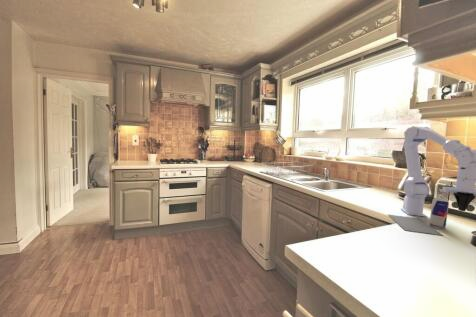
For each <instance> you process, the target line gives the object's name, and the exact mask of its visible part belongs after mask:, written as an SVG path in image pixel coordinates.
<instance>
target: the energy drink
mask: <svg viewBox="0 0 476 317" xmlns="http://www.w3.org/2000/svg"><path fill="white" fill-rule="evenodd" d="M431 201H432V202H431V208H430V209H431V210H430V217H429V222H428V223H429V224H428V225H430V226H431V227H432V228H434V229H439V230H445V229H446V225H447V222H448V221H447V220H448V213H449V206H450V203H449V202H450V201H449V200H448V199H442V198H436V197H435V198H433V199H432V200H431Z"/></svg>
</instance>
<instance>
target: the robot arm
mask: <svg viewBox="0 0 476 317" xmlns="http://www.w3.org/2000/svg"><path fill="white" fill-rule="evenodd" d="M403 134H404V141H403V149H404V155H405V156H404V157H405V164H406V168H407V177H408V178H406V179H405V180H404V186H403V192H404V194H405V196H404V198H403V205H402V207H401V208H400V210H401V211H402V212H404V213H405V214H406V215H408V216H409V215H410V216H419V217H426V218H427V215H426V214H425V213H424V207H425V200H426V199H425V198H427V196H428V195H429V194H430V191H431V188H430V186H429V185H428V183H427V180H426V179H425V178H424V177H423V174H422V167H421V162H420V155H419V148H418V147H419V145H421V144H423V143H424V142H425V141H426V140H428V139H429V140H430V141H431V142H434V143H436V144H438V145H440V146H441V147H442V150H443V151H444V152H446V153H448V154H449V155H451V156H452V157H455V160H456V161H457V162H458V164H457V165H458V168H457V175H456V182H455V186H454V187H453V186H442V189H441V191H442V192H444V193H453V196H454V198H455V200H456V201H455V202H457V209H458V210H459V211H460V212H466V210H467V208H468V206H469V205H470V204H471V203H472V202H473V200H475V199H476V149H472V147H471V146H470V145H465V144H463V143H461V140H459V139H448V138H446V137H445V136H443V135H442V134H440V133H439V132H437V131H435V130H434V129H433V128H430V127H428V126H414V125H410V126H408V127H407V128H406V130H405V131H404V132H403Z"/></svg>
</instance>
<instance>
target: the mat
mask: <svg viewBox="0 0 476 317" xmlns="http://www.w3.org/2000/svg"><path fill="white" fill-rule="evenodd" d="M388 217H390V219H392V220H393V221H394V222H395V223H396V224H397V225H398V226H399V227H400V228H401V229H402V230H403V231H406V232H413V233H420V234H426V235H427V234H429V235H434V236H440V237H441V236H442V237H444V235H443V233H441V232H440V231H438V230H437V229H436V228H434V227H431V226H430V225H429V224H428V223H427V222H426V221H424V220H423V219H421V218H419V217H412V216H411V217H410V216H404V215H403V216H402V215H393V214H388Z"/></svg>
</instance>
